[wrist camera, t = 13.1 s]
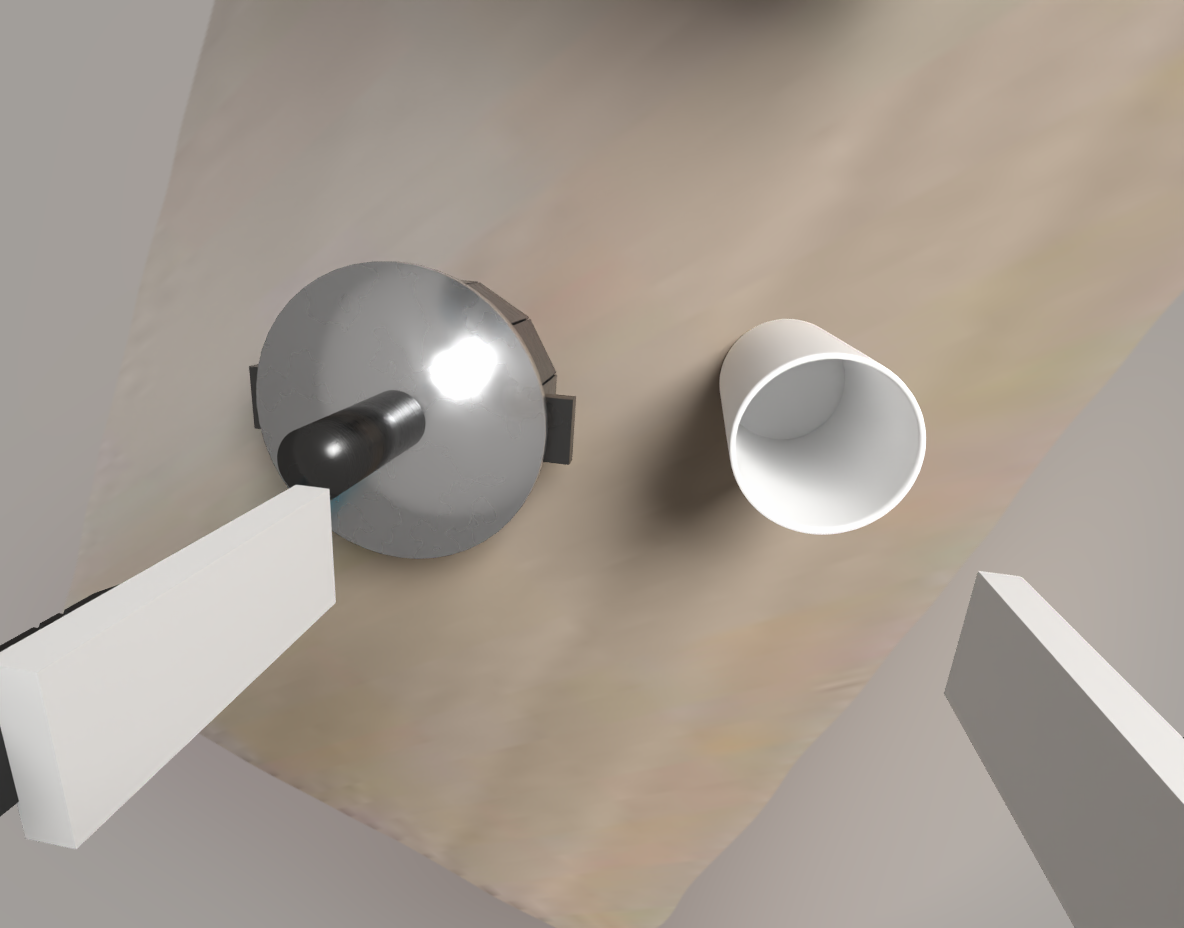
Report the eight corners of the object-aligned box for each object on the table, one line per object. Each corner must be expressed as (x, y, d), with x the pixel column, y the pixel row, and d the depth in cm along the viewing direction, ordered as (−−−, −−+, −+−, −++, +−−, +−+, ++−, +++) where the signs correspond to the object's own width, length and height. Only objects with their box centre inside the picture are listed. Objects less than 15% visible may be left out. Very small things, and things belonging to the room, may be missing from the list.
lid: (251, 249, 38) (110, 247, 29) (556, 274, 36) (506, 280, 27) (275, 534, 44) (162, 608, 35) (540, 570, 42) (495, 660, 32)
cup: (698, 410, 45) (697, 487, 30) (755, 297, 43) (786, 320, 27) (807, 461, 45) (861, 564, 30) (872, 351, 42) (967, 404, 27)
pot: (320, 477, 51) (255, 515, 44) (308, 267, 47) (232, 270, 39) (582, 509, 49) (561, 556, 41) (598, 291, 44) (577, 299, 36)
